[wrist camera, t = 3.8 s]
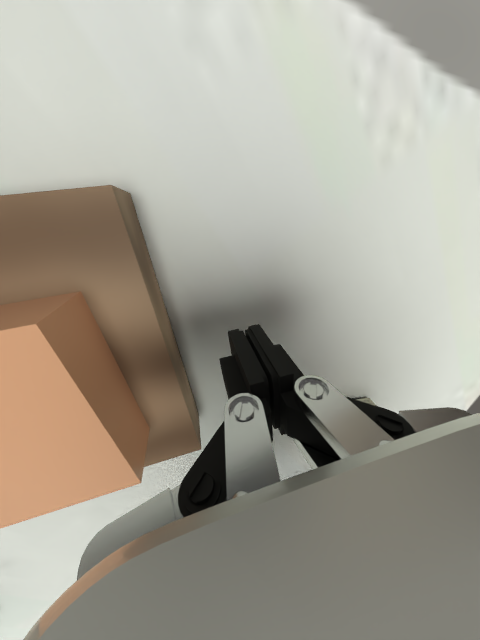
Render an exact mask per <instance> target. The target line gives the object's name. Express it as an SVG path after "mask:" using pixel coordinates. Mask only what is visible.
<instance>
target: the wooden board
mask: <svg viewBox="0 0 480 640" xmlns="http://www.w3.org/2000/svg"><path fill="white" fill-rule="evenodd" d="M80 291H81V292H82V294H83V296H84V298H85V300H86V302H87V304H88V306H89V308H90V310H91V312H92V314H93V316H94V318H95V320H96V322H97V324H98V326H99V328H100V330H101V332H102V334H103V336H104V338H105V340H106V342H107V344H108V346H109V348H110V350H111V352H112V354H113V356H114V358H115V360H116V362H117V364H118V366H119V368H120V370H121V372H122V374H123V376H124V378H125V380H126V382H127V384H128V386H129V388H130V390H131V392H132V394H133V396H134V398H135V400H136V402H137V404H138V406H139V408H140V410H141V412H142V414H143V416H144V418H145V420H146V422H147V424H148V426H149V428H150V430H149V436H148V443H147V449H146V455H145V462H144V467H146V466H149V465H152V464H155V463H158V462H162V461H165V460H168V459H171V458H174V457H178V456H181V455H184V454H187V453H190V452H194V451H197V450H200V449H201V439H200V426H199V414H198V411H197V408H196V404H195V401H194V398H193V395H192V392H191V388H190V385H189V382H188V379H187V375H186V372H185V369H184V366H183V362H182V359H181V356H180V353H179V350H178V346H177V343H176V340H175V337H174V333H173V330H172V327H171V324H170V321H169V317H168V314H167V311H166V308H165V304H164V301H163V298H162V295H161V291H160V288H159V285H158V282H157V279H156V275H155V272H154V269H153V266H152V262H151V259H150V256H149V253H148V250H147V246H146V243H145V240H144V237H143V233H142V230H141V227H140V224H139V220H138V217H137V214H136V211H135V208H134V204H133V201H132V198H131V195H130V193H128V192H126V191H123V190H121V189H119V188H117V187H115V186H112V185H106V186H96V187H85V188H75V189H64V190H54V191H44V192H33V193H23V194H13V195H2V196H0V305H4V304H10V303H16V302H22V301H27V300H33V299H39V298H45V297H51V296H57V295H62V294H68V293H74V292H80Z"/></svg>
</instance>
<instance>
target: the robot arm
mask: <svg viewBox="0 0 480 640" xmlns="http://www.w3.org/2000/svg"><path fill="white" fill-rule="evenodd" d="M245 334H246V336H245ZM245 334H244V332H243V331H239V329H235V330H231V331H228V336H229V342H230V348H231V354H232V356H228V357H224V358H220V364H221V369H222V374H223V379H224V383H225V387H226V391H227V395H228V399H229V400H228V401H227V403H226V405H225V409H224V422H223V423H222V425H221V426H220V427H219V429H218V430H217V432H216V433H215V435H214V436H213V437H212V439H211V440H210V442H209V443H208V444H207V446H206V447H205V449H204V450H203V452H202V453H201V454H200V456H199V457H198V459H197V460H196V462H195V463H194V464H193V466H192V467H191V469H190V470H189V472H188V473H187V474H186V476H185V477H184V479H183V481H182V483H181V484H180V485H179V486H177V487H175V488H174V489H172V490H170V488H168V489H166V490H165V491H163V492H161V493H160V494H158V495H156V496H155V497H153V498H151V499H150V500H148V501H146V502H145V503H143V504H142V505H140V506H138V507H137V508H135V509H133V510H132V511H130V512H128V513H127V514H125V515H123V516H122V517H120V518H118V519H117V520H115V521H113V522H112V523H110V524H108V525H107V526H105V527H104V528H103V529H102V530H100V531H99V532H98V533H97V534H96V535H95V536H94V538H93V539H92V540H91V541H90V543H89V544H88V546H87V548H86V550H85V552H84V554H83V555H82V558H81V561H80V565H79V569H78V575H77V581H76V582H75V583H74V584H73V585H72V586H71V587H69V588H68V589H67V590H66V591H65V592H64V593H63V594H62V595H61V596H60V597H59V598H58V599H57V600H56V601H55V602H54V603H53V604H52V605H51V606H50V607H49V609H48V610H47V611H46V612H45V613H44V614H43V615H42V616H41V618H40V619H39V620H38V621H37V622H36V624H35V625H34V626H33V627H32V628H31V630H30V631H29V632H28V634H27V635H26V637H25V638H24V639H23V640H480V413H478V414H474V415H472V414H470V413H468V412H466V411H464V410H460V409H457V408H449V407H447V408H433V409H419V410H405V411H399V414H397V413H395V412H392V411H390V410H387V409H384V408H381V407H378V406H374V405H371V404H368V403H365V402H362V401H358V400H355V399H352V398H349V397H346V396H344V395H343V394H342V393H341V392H339V391H338V390H337V389H336V388H335V387H334V386H333V385H332V384H330V383H329V382H328V381H327V380H325V379H324V378H321V377H319V376H315V375H306V376H304V375H303V374H302V372H301V371H300V370H299V369H298V367H297V366H296V365H295V363H294V362H293V361H292V359H291V358H290V357H289V355H288V354H287V353H286V351H285V350H284V349H283V348H282V346H281V345H279V344H277V345H273V343H272V342H271V341H270V339H269V338H268V336H267V335H266V333H265V332H264V331H263V329H262V328H261V326H260V325H259V324H258V325H253V326H249V327H248V330H245ZM272 425H273V427H274V428H275V429H276V428H278V429H279V431H280V433H281V435H283V434H287V436H290V437H292V438H294V441H295V443H296V445H297V447H298V448H299V450H300V451H301V453H302V454H303V456H304V457H305V459H306V460H307V462H308V463H309V465H310V466H311V468H312V469H313V470H310V471H308V472H305V473H302V474H299V475H297V476H294V477H291V478H288V479H286V480H283V481H280V477H279V473H278V468H277V464H276V460H275V455H274V451H273V447H272V441H273V432H272Z"/></svg>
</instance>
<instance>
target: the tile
mask: <svg viewBox="0 0 480 640" xmlns="http://www.w3.org/2000/svg"><path fill="white" fill-rule="evenodd" d="M149 430H150V428H149V426H148V424H147V422H146V420H145V418H144V416H143V414H142V412H141V410H140V408H139V406H138V404H137V402H136V400H135V398H134V396H133V394H132V392H131V390H130V388H129V386H128V384H127V382H126V380H125V378H124V376H123V374H122V372H121V370H120V368H119V366H118V364H117V362H116V360H115V358H114V356H113V354H112V352H111V350H110V348H109V346H108V344H107V342H106V340H105V338H104V336H103V334H102V332H101V330H100V328H99V326H98V324H97V322H96V320H95V318H94V316H93V314H92V312H91V310H90V308H89V306H88V304H87V302H86V300H85V298H84V296H83V294H82V292H81V291H80V292H74V293H68V294H62V295H57V296H51V297H45V298H39V299H33V300H27V301H22V302H16V303H10V304H4V305H0V528H3V527H6V526H10V525H13V524H16V523H19V522H22V521H25V520H28V519H31V518H34V517H37V516H40V515H44V514H47V513H50V512H53V511H56V510H59V509H62V508H65V507H68V506H71V505H75V504H78V503H81V502H84V501H87V500H90V499H93V498H96V497H99V496H102V495H105V494H109V493H112V492H115V491H118V490H121V489H124V488H127V487H130V486H133V485H136V484H139V483H141V481H142V474H143V468H144V462H145V455H146V449H147V443H148V436H149Z"/></svg>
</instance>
